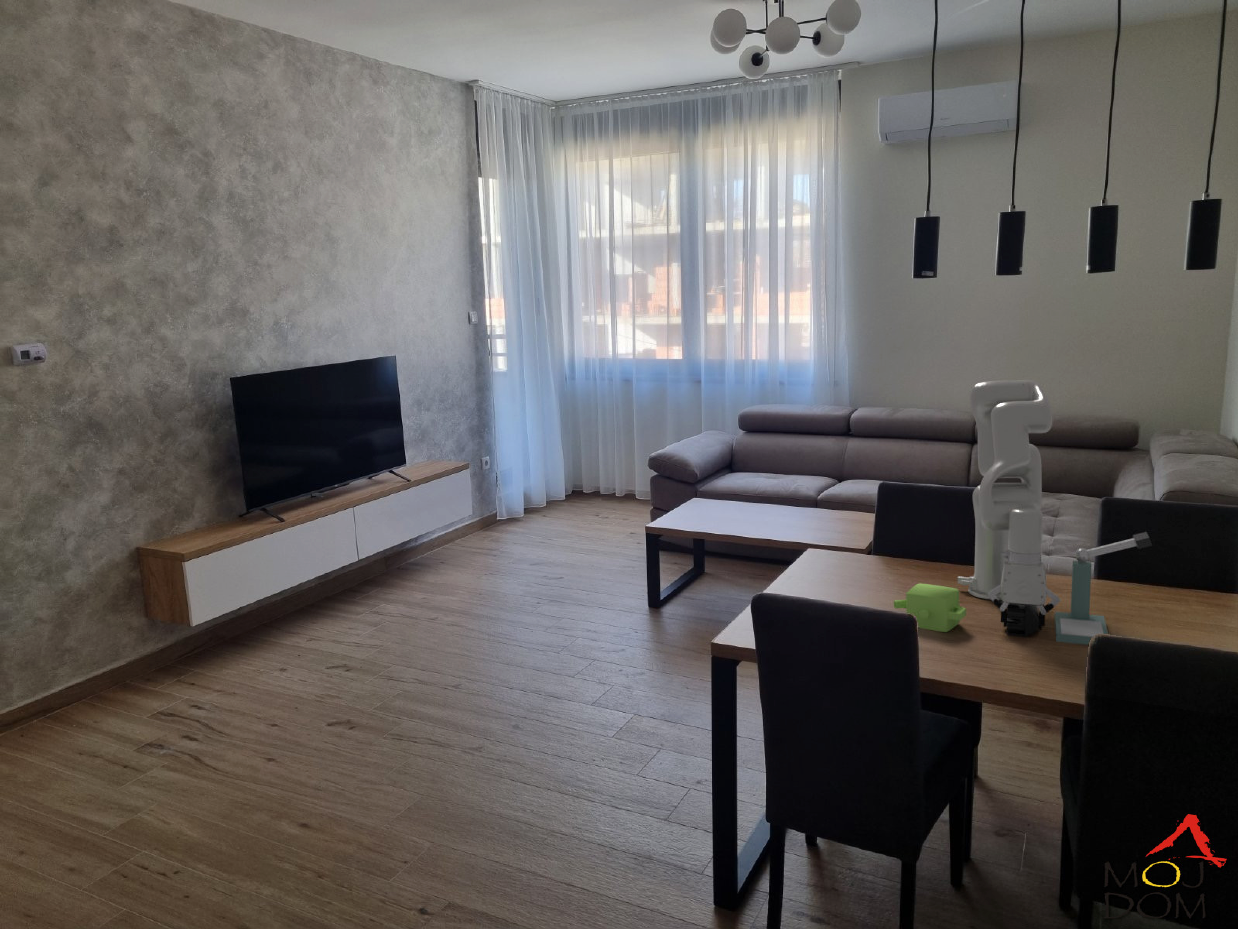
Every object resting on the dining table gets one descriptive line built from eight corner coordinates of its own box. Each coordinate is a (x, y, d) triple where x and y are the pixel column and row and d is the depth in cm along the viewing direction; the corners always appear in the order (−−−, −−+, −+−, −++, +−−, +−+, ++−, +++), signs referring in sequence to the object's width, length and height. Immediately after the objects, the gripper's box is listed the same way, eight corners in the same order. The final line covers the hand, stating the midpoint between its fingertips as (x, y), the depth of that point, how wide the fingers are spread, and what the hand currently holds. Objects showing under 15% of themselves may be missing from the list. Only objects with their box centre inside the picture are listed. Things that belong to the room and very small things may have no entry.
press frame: (1056, 641, 211) (1058, 577, 208) (1054, 619, 226) (1057, 558, 223) (1108, 646, 206) (1111, 581, 203) (1103, 623, 221) (1106, 561, 219)
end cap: (1038, 639, 213) (1039, 612, 212) (1006, 636, 215) (1007, 609, 214) (1037, 625, 222) (1038, 599, 221) (1006, 622, 225) (1007, 597, 223)
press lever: (1078, 565, 216) (1074, 554, 216) (1077, 559, 222) (1073, 548, 222) (1152, 547, 209) (1148, 535, 209) (1149, 541, 214) (1145, 529, 214)
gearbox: (886, 625, 228) (885, 590, 226) (902, 613, 235) (901, 579, 233) (956, 638, 216) (956, 601, 214) (971, 625, 223) (970, 589, 221)
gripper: (985, 559, 216) (983, 628, 219) (1064, 564, 209) (1062, 635, 211) (986, 551, 223) (985, 618, 225) (1063, 556, 215) (1061, 625, 218)
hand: (1022, 626), depth 218 cm, fingers closed on end cap, 7 cm apart
